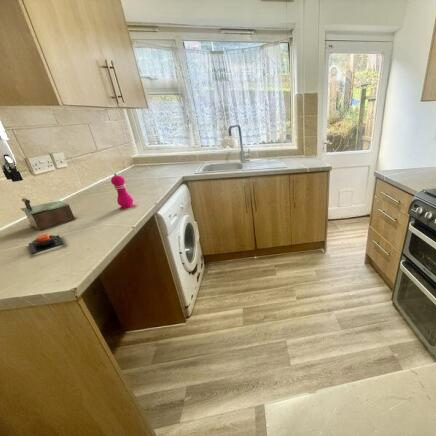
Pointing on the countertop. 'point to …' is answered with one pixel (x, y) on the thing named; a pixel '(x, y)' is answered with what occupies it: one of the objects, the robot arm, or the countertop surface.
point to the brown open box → (50, 218)
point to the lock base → (45, 244)
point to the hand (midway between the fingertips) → (15, 179)
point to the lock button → (43, 238)
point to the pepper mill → (122, 192)
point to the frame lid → (41, 206)
